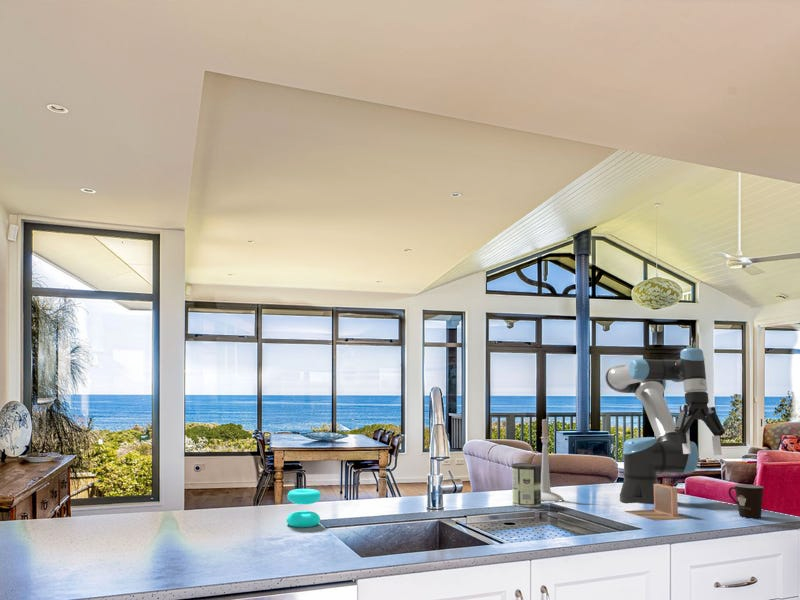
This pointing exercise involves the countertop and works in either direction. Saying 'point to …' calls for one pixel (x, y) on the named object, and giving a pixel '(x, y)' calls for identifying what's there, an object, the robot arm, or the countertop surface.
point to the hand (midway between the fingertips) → (702, 454)
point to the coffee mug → (748, 500)
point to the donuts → (303, 516)
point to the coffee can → (526, 484)
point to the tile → (665, 499)
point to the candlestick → (546, 468)
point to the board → (655, 515)
